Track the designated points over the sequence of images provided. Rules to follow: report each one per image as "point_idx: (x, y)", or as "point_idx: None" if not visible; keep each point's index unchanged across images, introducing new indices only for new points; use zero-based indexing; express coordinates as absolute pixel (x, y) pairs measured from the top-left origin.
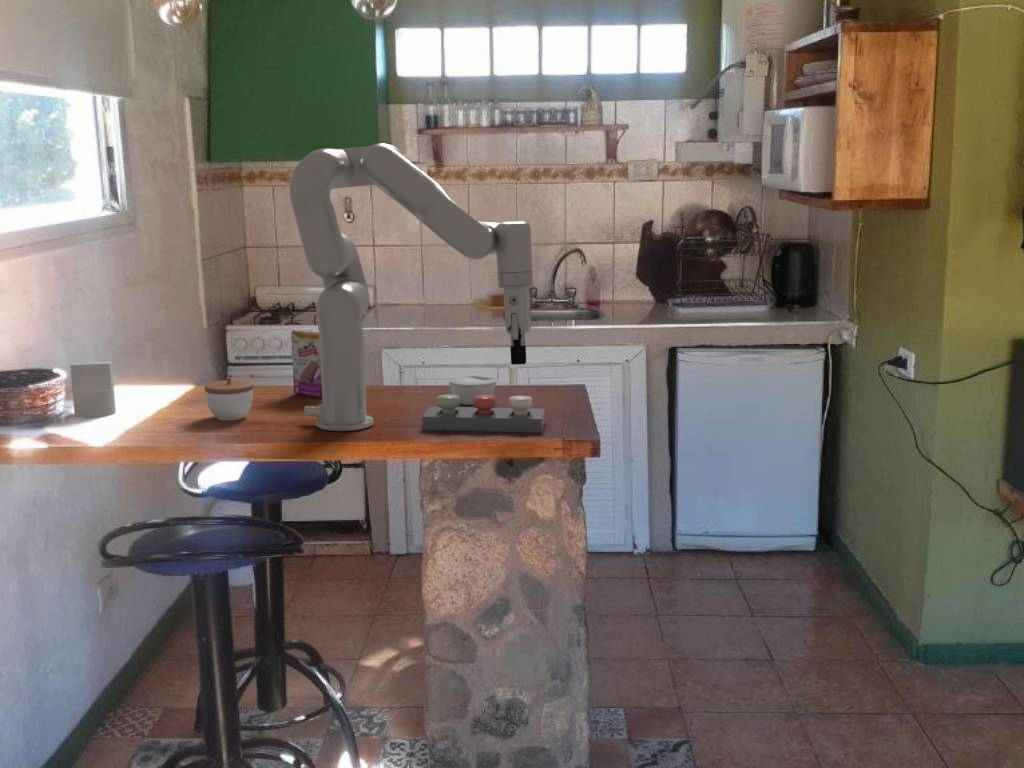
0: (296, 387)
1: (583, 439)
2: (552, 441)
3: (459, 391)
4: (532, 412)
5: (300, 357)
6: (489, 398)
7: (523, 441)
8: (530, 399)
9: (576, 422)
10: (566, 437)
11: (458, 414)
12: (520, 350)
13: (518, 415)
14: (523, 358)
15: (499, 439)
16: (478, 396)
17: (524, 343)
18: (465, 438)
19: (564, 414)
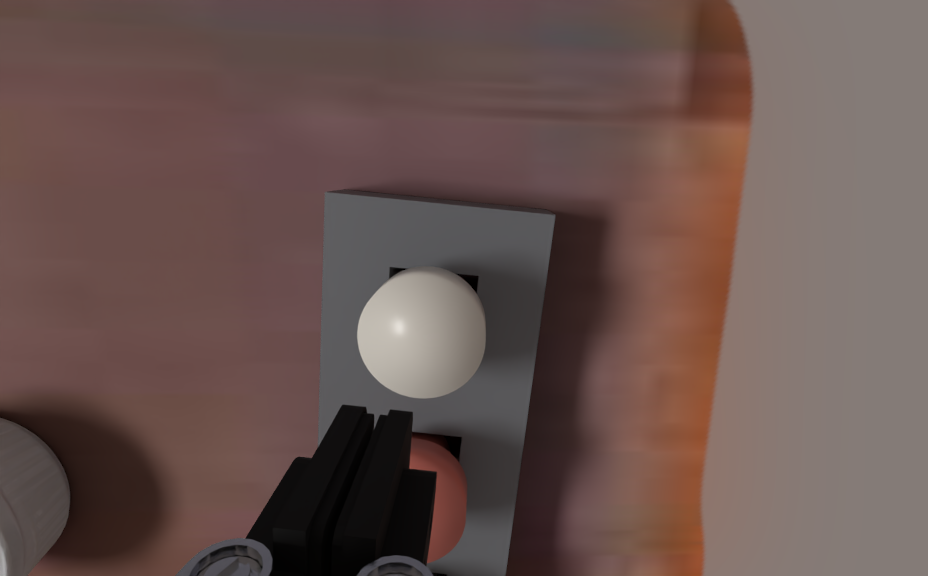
0: None
1: (684, 12)
2: (703, 164)
3: (28, 570)
4: (413, 256)
5: None
6: None
7: (688, 289)
8: (452, 284)
9: (350, 32)
10: (638, 96)
11: (453, 566)
12: (425, 552)
13: None
14: (404, 455)
15: (646, 381)
16: None
17: (264, 557)
18: (618, 500)
19: (191, 87)
